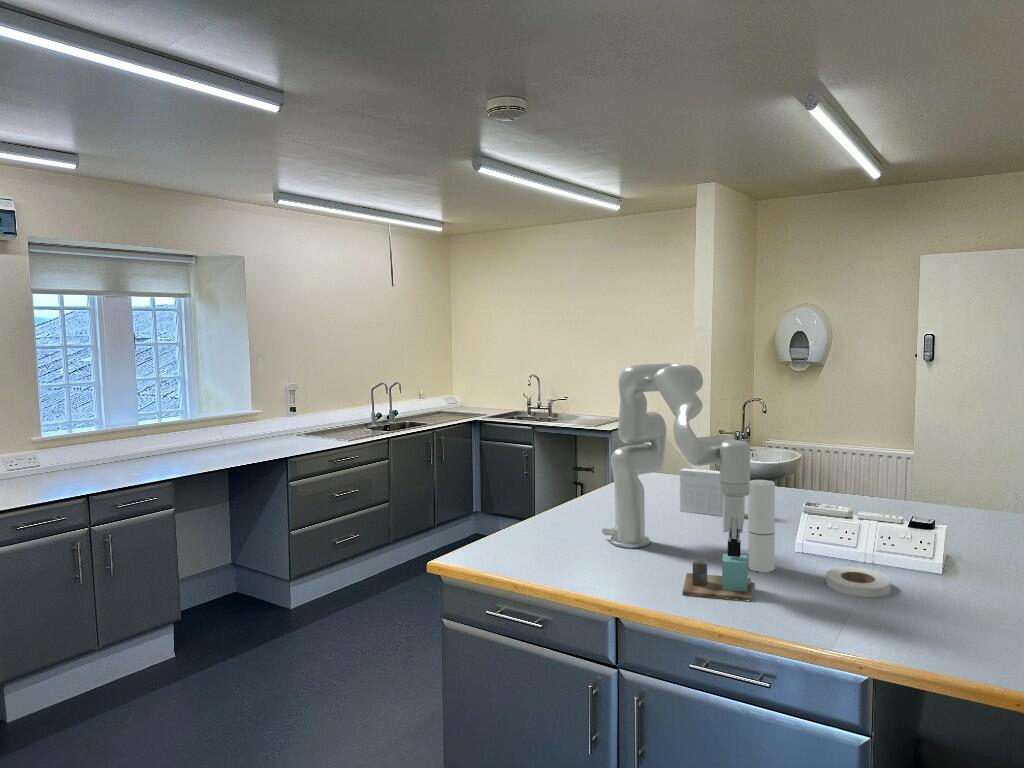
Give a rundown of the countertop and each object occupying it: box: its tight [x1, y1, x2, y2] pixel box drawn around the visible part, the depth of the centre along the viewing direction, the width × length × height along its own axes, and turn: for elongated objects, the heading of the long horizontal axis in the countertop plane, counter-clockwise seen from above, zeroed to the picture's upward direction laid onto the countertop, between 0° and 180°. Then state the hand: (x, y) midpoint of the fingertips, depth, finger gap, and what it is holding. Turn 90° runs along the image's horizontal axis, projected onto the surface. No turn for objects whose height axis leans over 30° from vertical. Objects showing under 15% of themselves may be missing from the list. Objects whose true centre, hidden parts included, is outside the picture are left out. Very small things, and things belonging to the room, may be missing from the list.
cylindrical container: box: [747, 479, 776, 573], centre depth 199 cm, size 7×7×25 cm
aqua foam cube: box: [721, 553, 748, 592], centre depth 184 cm, size 6×6×8 cm
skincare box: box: [679, 468, 724, 517], centre depth 259 cm, size 21×5×16 cm, turn 58°
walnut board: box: [682, 558, 752, 602], centre depth 186 cm, size 17×14×7 cm
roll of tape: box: [825, 566, 892, 598], centre depth 185 cm, size 16×15×3 cm
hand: (734, 555), depth 184 cm, fingers closed
